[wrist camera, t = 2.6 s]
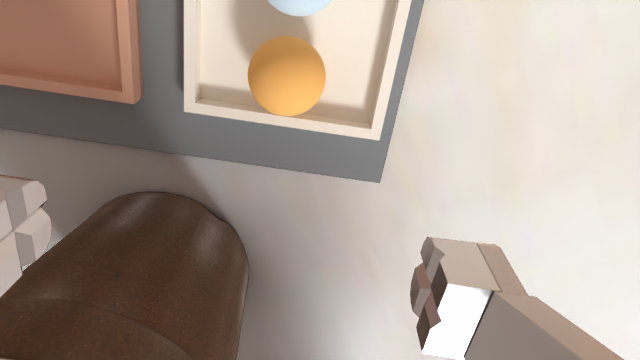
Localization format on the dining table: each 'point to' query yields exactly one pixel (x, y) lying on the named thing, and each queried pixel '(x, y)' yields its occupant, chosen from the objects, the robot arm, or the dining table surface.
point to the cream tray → (316, 29)
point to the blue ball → (299, 6)
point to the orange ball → (286, 76)
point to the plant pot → (132, 287)
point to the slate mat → (197, 129)
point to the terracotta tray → (73, 47)
